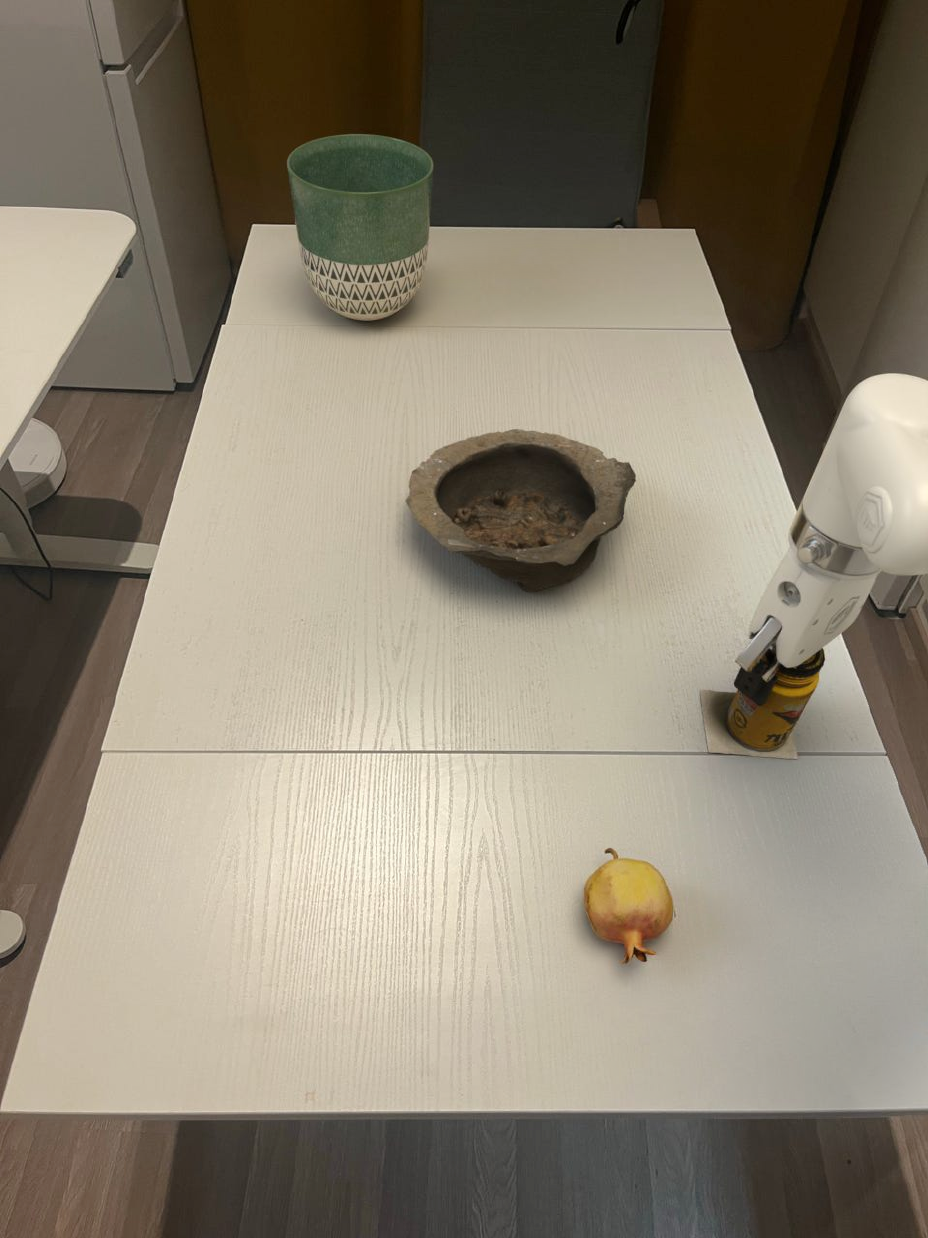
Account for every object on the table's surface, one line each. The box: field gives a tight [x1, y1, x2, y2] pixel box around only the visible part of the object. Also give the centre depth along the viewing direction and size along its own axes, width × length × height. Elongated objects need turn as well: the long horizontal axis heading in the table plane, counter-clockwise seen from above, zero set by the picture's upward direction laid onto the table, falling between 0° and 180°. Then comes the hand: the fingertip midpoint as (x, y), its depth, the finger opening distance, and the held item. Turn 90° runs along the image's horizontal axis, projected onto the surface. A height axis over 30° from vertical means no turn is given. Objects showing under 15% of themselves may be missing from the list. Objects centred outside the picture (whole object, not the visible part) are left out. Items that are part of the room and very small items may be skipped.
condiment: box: [699, 647, 826, 760], centre depth 82 cm, size 7×8×12 cm
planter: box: [286, 133, 434, 322], centre depth 127 cm, size 20×20×21 cm
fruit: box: [583, 847, 674, 965], centre depth 70 cm, size 7×7×10 cm
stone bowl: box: [405, 428, 637, 592], centre depth 100 cm, size 25×25×9 cm
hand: (772, 675), depth 81 cm, fingers closed on condiment, 6 cm apart
